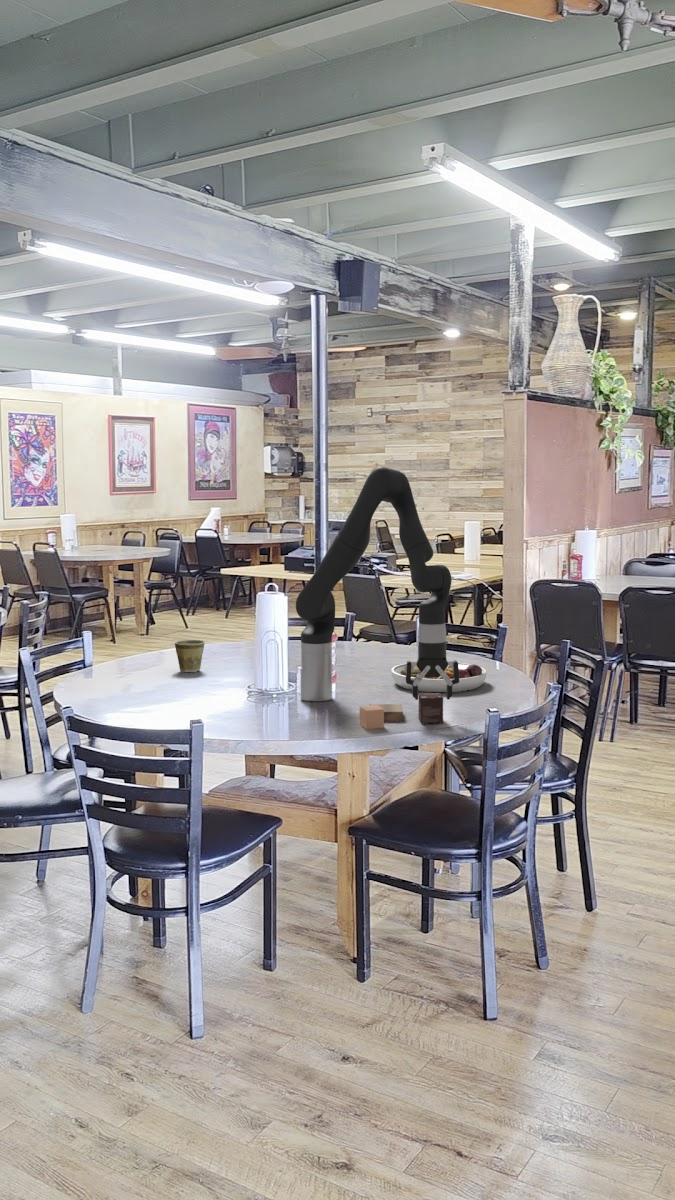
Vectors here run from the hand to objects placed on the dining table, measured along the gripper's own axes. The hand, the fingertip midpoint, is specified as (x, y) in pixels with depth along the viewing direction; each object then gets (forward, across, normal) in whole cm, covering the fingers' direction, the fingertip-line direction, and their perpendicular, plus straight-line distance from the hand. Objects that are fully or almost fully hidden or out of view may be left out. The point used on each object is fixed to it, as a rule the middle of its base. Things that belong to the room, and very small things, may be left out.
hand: (432, 699), depth 272 cm
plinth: (+6, -12, +5) cm, 15 cm away
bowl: (+6, +6, +49) cm, 50 cm away
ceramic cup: (+5, -77, +72) cm, 106 cm away
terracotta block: (+6, -17, -5) cm, 18 cm away
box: (+6, 0, 0) cm, 6 cm away
